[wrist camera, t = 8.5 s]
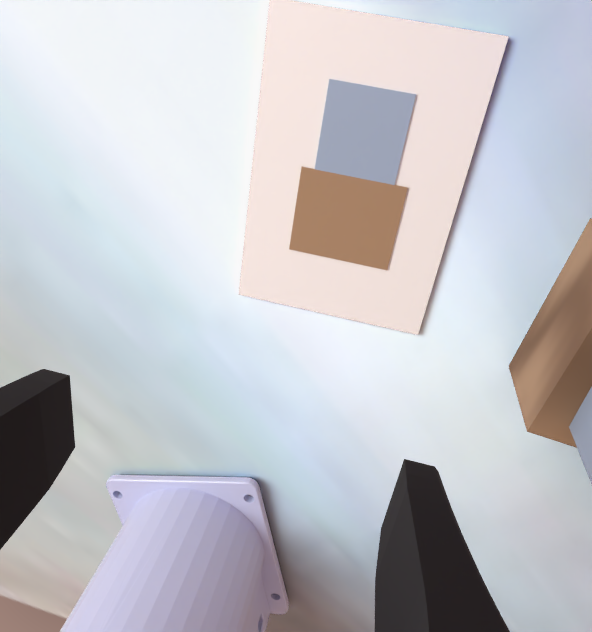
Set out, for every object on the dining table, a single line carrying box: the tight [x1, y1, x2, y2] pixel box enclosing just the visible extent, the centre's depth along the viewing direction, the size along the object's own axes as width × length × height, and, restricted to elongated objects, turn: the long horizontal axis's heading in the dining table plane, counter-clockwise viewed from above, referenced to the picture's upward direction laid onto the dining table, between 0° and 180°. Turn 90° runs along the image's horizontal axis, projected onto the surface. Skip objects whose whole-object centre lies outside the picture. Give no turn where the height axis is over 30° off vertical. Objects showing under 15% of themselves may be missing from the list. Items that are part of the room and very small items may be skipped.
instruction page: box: [239, 0, 509, 335], centre depth 18 cm, size 10×7×1 cm
